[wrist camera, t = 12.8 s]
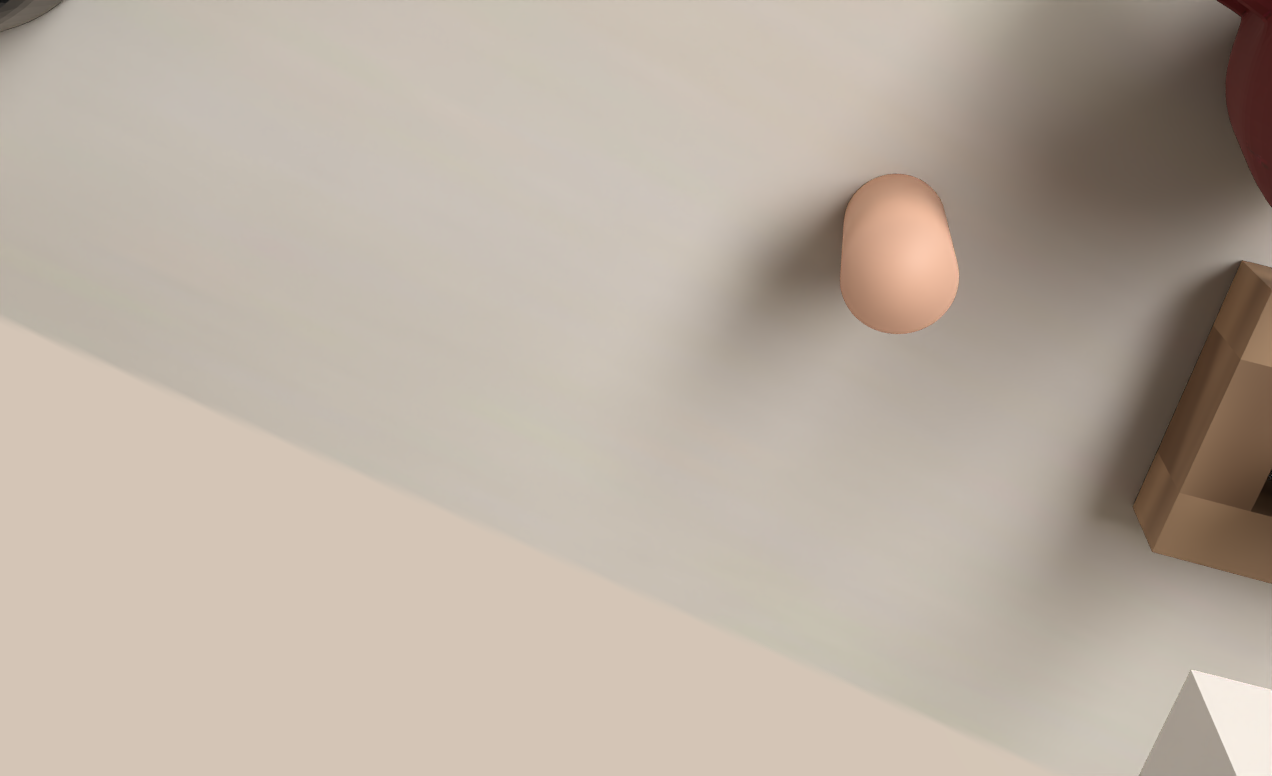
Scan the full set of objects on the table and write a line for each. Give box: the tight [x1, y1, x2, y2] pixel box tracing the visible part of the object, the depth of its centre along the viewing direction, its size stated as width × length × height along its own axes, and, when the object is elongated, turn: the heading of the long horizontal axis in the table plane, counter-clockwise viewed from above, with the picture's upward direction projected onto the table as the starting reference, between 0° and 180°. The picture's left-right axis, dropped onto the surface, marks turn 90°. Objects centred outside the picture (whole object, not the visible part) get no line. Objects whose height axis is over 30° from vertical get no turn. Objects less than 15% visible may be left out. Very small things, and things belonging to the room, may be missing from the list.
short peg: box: [840, 174, 959, 334], centre depth 35 cm, size 3×3×6 cm
